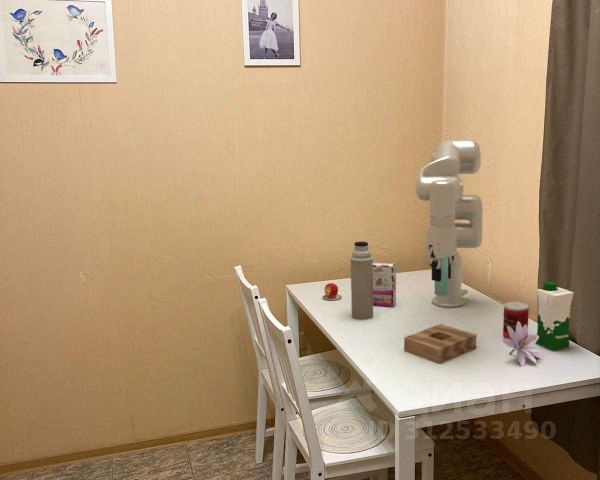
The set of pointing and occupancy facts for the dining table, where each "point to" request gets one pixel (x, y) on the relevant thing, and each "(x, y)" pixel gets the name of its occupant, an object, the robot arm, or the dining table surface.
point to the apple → (331, 292)
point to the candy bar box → (384, 284)
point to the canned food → (515, 317)
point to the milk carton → (553, 316)
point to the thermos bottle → (362, 282)
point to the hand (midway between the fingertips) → (441, 278)
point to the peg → (442, 278)
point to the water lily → (522, 343)
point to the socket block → (440, 343)
